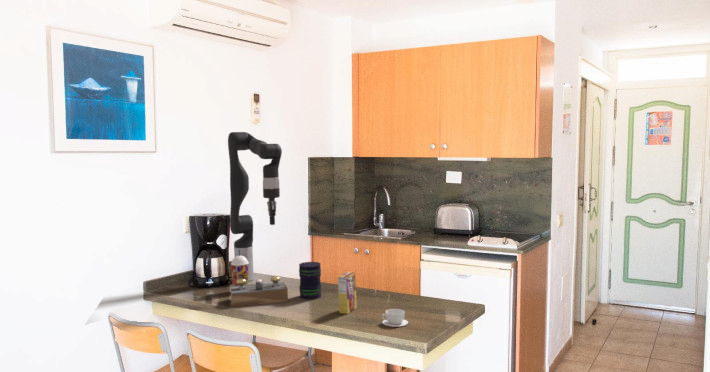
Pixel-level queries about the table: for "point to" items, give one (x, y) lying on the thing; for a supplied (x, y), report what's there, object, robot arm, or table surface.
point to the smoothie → (240, 269)
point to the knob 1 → (241, 283)
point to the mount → (259, 294)
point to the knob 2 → (275, 280)
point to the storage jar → (310, 280)
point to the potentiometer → (259, 285)
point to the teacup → (394, 318)
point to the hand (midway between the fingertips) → (272, 224)
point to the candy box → (347, 292)
